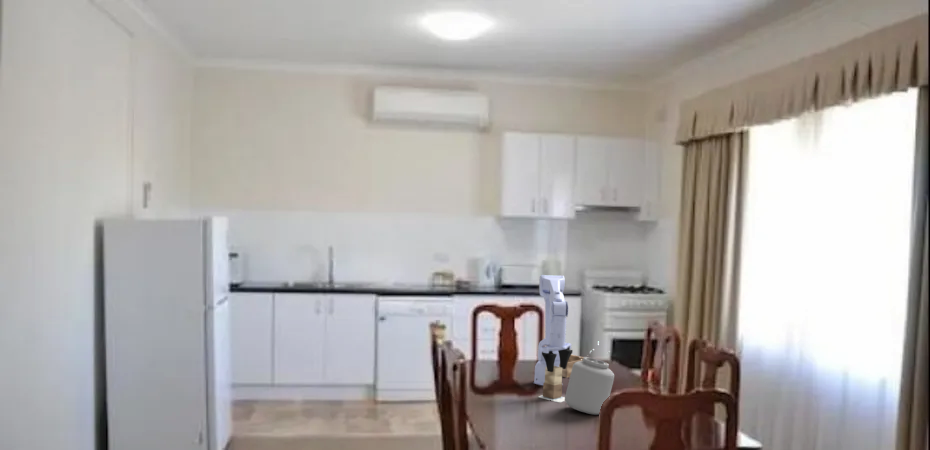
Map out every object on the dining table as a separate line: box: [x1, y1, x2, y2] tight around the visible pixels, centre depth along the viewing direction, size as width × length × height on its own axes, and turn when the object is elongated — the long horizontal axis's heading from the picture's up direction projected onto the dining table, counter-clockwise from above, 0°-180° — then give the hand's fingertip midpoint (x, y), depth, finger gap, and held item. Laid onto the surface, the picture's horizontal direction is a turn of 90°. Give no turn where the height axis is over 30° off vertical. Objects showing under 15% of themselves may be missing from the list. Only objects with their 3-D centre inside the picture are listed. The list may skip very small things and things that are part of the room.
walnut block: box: [542, 383, 563, 399], centre depth 278 cm, size 5×5×5 cm
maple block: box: [545, 366, 563, 385], centre depth 278 cm, size 4×4×6 cm
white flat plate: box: [537, 394, 565, 404], centre depth 278 cm, size 10×7×1 cm
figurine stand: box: [559, 354, 584, 378], centre depth 321 cm, size 12×16×6 cm
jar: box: [564, 341, 615, 416], centre depth 261 cm, size 19×15×25 cm
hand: (556, 369), depth 279 cm, fingers open, 7 cm apart
